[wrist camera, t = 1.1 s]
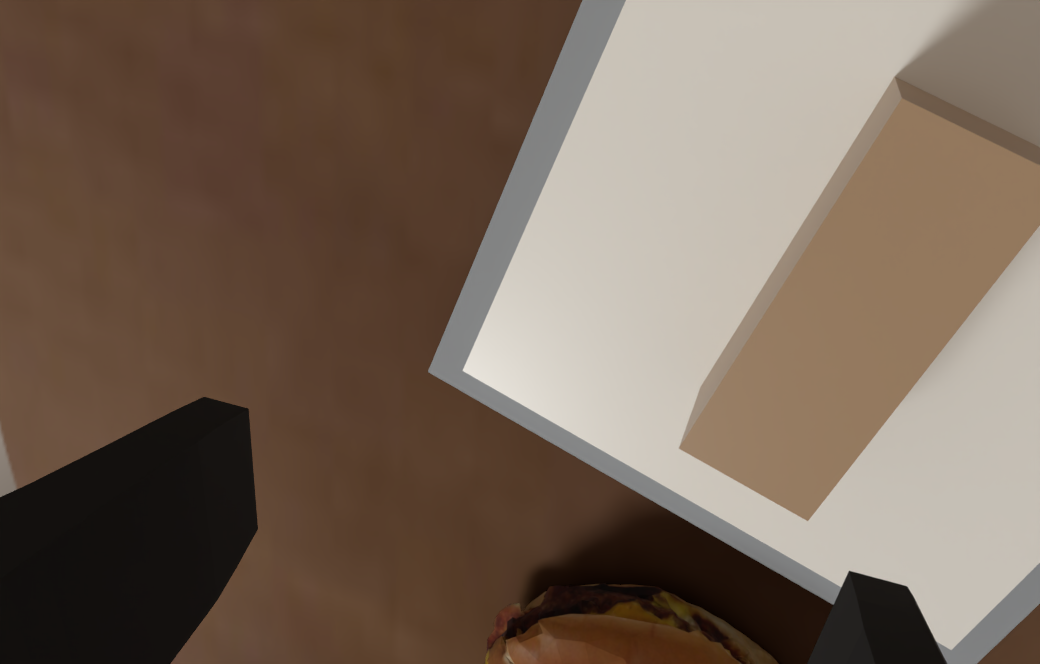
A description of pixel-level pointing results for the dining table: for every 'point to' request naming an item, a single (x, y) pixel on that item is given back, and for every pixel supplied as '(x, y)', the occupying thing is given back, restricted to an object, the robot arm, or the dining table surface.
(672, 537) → the dining table surface
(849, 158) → the lid
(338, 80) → the dining table surface
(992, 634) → the mat
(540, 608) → the burger
